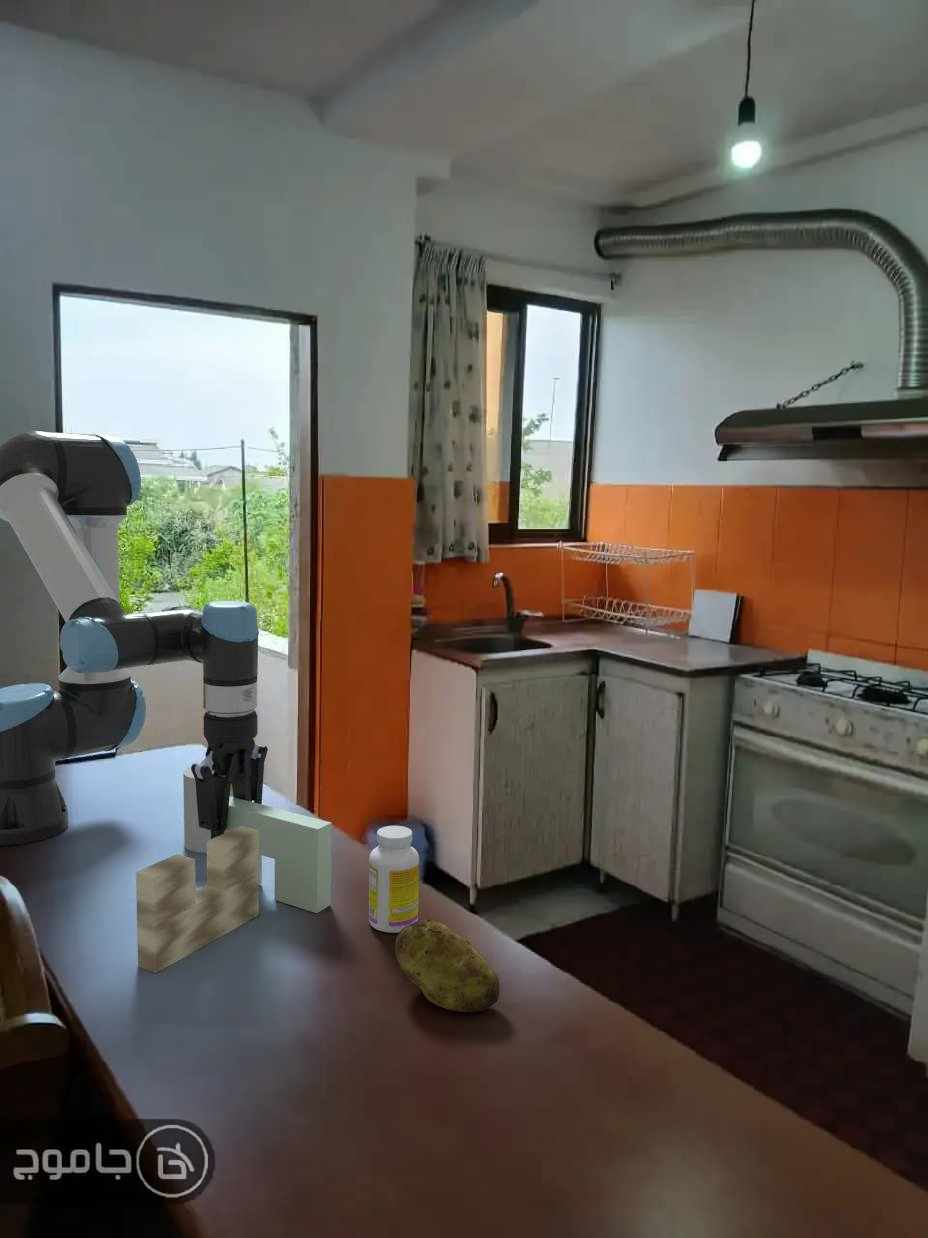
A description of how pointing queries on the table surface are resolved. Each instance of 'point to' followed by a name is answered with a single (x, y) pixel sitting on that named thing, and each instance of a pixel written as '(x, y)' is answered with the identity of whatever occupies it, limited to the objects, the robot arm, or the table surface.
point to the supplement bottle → (393, 880)
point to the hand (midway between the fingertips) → (231, 866)
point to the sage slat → (290, 851)
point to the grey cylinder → (193, 816)
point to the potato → (446, 967)
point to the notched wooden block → (196, 899)
